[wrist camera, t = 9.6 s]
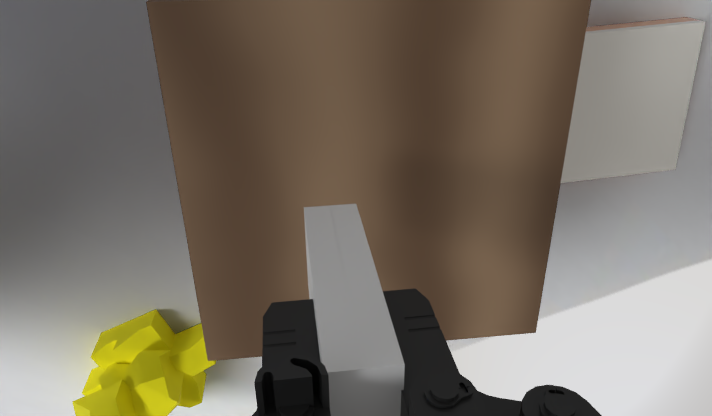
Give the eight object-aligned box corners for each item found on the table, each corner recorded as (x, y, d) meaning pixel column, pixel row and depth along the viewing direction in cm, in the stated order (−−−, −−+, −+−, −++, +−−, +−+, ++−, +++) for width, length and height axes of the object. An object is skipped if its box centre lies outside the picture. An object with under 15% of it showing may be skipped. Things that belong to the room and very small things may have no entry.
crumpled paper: (236, 360, 36) (225, 464, 30) (126, 406, 37) (91, 517, 30) (188, 294, 34) (163, 390, 27) (71, 345, 34) (18, 451, 28)
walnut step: (228, 239, 32) (207, 361, 23) (193, -27, 26) (146, 1, 17) (468, 223, 34) (535, 332, 25) (491, -34, 27) (593, -11, 18)
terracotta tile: (675, 169, 32) (654, 156, 34) (705, 21, 28) (680, 15, 30) (537, 186, 31) (523, 171, 33) (549, 37, 27) (533, 30, 29)
